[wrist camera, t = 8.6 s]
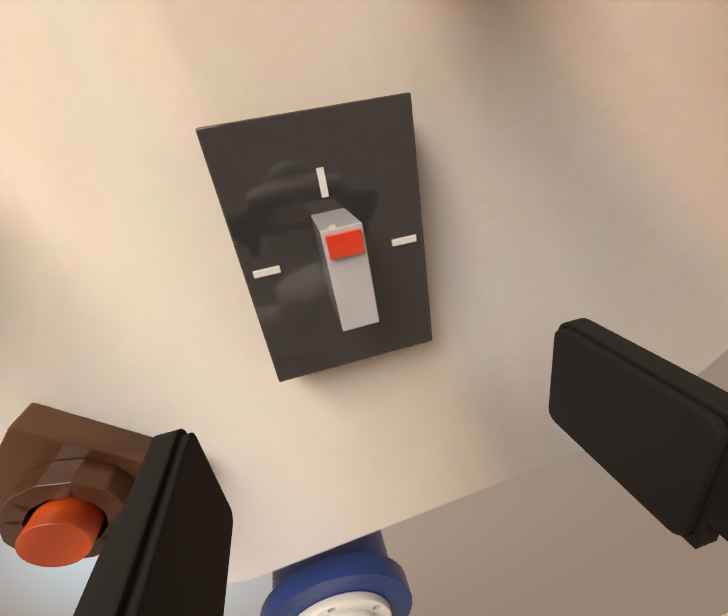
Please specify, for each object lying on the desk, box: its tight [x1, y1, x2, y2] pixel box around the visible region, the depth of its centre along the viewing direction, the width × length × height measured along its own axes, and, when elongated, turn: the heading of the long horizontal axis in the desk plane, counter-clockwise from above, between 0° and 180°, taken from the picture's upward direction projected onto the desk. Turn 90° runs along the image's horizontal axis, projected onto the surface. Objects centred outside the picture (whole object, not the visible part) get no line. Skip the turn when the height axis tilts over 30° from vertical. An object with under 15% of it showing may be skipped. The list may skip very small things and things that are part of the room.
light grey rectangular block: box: [311, 208, 379, 331], centre depth 17 cm, size 5×2×4 cm, turn 10°
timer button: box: [15, 498, 104, 567], centre depth 21 cm, size 4×4×2 cm
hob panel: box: [196, 92, 432, 382], centre depth 21 cm, size 14×10×3 cm
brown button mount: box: [0, 403, 153, 558], centre depth 23 cm, size 10×8×4 cm
